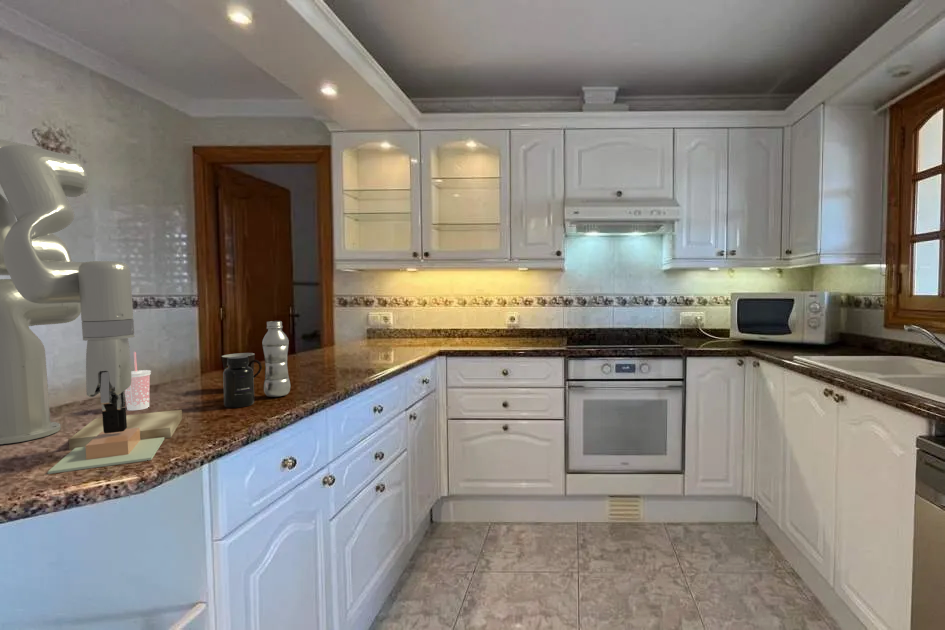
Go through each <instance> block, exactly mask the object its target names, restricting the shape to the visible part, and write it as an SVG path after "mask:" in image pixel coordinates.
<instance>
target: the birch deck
mask: <svg viewBox="0 0 945 630" xmlns="http://www.w3.org/2000/svg"><path fill="white" fill-rule="evenodd" d="M126 420H127V428H126V429H131V428H140V440H144V439H152V438H161V437H164V439H169V438H170V439H171V438H172V436H173V435H174V433H175V431H176V430H177V428H178V426H179V425H180V423H181V421H182V420H183V410H182V409H176V410H175V409H173V410H165V411H154V412H146V413H136V414H126ZM101 432H104V431H103V417H98V418H94V419H93V420H91V421H90V422H89V423H87V424H86V425H85V426H83V428H81V429H80V430H78V431H77V432H76V433H75V434H74V435H71V437H70V438H69V439H68V449H69V451H72V450H73V449H74V448H78V447H85V446H86V445H87V444H88V443H89V442H90V441H91V440H93V439H94V438H95V437H96V436H97V435H98V434H100V433H101Z"/></svg>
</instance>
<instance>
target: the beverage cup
mask: <svg viewBox="0 0 945 630" xmlns="http://www.w3.org/2000/svg"><path fill="white" fill-rule="evenodd" d="M133 361H134V362H133V363H134V364H133V365H134V370H131V385H130V387H129V388H127V389H126V390H125V406H126V411H139V410H145V409H146V410H147V409H148V407H149V408H150V380H151V379H150V375H151V374H152V370H150V369H143V370H142V369H139V370H138V363H137V352H136V351H133Z"/></svg>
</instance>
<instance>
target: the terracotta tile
mask: <svg viewBox="0 0 945 630" xmlns="http://www.w3.org/2000/svg"><path fill="white" fill-rule="evenodd" d="M139 441H140V428H131V429H125V430H124V431H122V432H114V433H104V432H101V433H100V434H98V435H97V436H96V437H95V438H94V439H93V440H91V441H90V442H89V443H88V444H87V445H86V446H85V447H86V460H88V459H95V458H103V457H111V456H119V455H127V454H129V453H130V452H131V451H132V450H133V448H134V447H135V446H136V445H137V444H138V442H139Z"/></svg>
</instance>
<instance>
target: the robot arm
mask: <svg viewBox="0 0 945 630" xmlns="http://www.w3.org/2000/svg"><path fill="white" fill-rule="evenodd" d="M88 186H89V175H88V172H87V170H86V168H85V166H84V165H83V163H82V162H81V161H80V160H79V159H78V158H76V157H75V156H72V155H70V154H68V153H67V154H65V153H62V152H57V151H53V150H50V149H45V148H41V147H37V146H33V145H27V144H23V143H18V142H15V141H10V140H7V139H1V138H0V187H1V189H2V191H3V193H4V195H5V196H3V194H1V193H0V276H9V277H10V278H1V279H0V445H8V444H17V443H20V442H26V441H31V440H36V439H41V438H44V437H47V436H51V435H53V434H56V433H58V432H59V431H60V430H61V427H62V426H61V424H60V423H59V422H56V421H51V413H50V412H51V411H50V398H49V386H48V385H49V384H48V383H49V382H48V372H47V370H48V369H47V361H46V360H47V358H46V348H45V345H44V343H43V341H42V340H41V339H40V337H39V336H37V335H36V334H35V333H34V331H33V330H32V329H31V328H30V327H34V326H47V325H57V324H67V323H71V322H73V321H75V320H77V319H78V318H79V316H80V318H81V331H82V332H81V333H82V341H87V342H86V349H85V351H86V352H85V353H86V354H85V380H86V381H85V383H86V384H85V387H86V388H85V389H86V396H87V397H89V398H94V397H95V396H98V395H100V405H101V410H102V411H101V412H102V418H103V431H104V433H114V432H122V431H124V430H125V429H126V428H127V420H126V415H127V407H126V397H125V390H126V389H127V388H129V387H130V385H131V371H132V362H131V354H130V353H131V351H130V344H129V339H130V338H131V339H132V338H135V324H134V321H135V320H134V308H133V294H132V291H133V290H132V276H131V269H130V266H129V265H128V264H126V263H125V262H122V261H115V260H114V261H113V260H112V261H111V260H91V261H73V260H72V255H71V254H70V251H69V249H68V246H67V245H66V243H65V242H64V240H62V239H61V237H59V236H58V235H56V234H55V233H58V232H61V231H63V230H64V229H66V228H67V227H69V226H70V225H71V224H72V223H73V222H74V219H75V212H74V209H73V207H72V206H71V204H70V201H69V200H68V198H77V197H80V196H82V195H84V193H86V191H87V189H88ZM5 197H6V198H5Z"/></svg>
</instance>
